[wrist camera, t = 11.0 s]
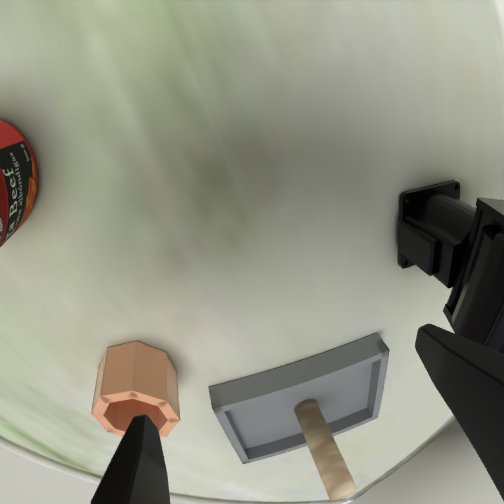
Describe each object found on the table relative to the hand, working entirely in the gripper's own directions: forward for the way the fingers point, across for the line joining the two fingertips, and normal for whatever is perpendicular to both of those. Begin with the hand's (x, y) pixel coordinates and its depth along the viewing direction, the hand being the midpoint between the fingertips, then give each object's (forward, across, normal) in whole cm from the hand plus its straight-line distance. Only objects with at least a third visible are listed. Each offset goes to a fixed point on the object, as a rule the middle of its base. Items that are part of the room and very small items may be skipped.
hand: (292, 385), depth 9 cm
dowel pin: (+12, -3, +20) cm, 24 cm away
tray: (+13, -3, +20) cm, 24 cm away
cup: (+13, +10, +10) cm, 19 cm away
